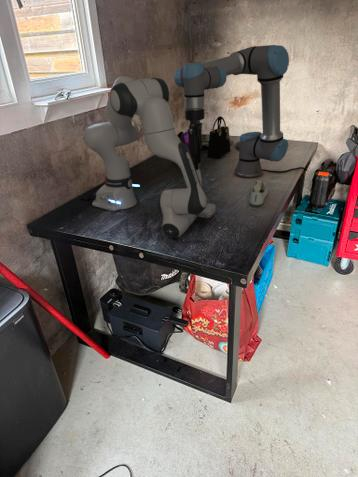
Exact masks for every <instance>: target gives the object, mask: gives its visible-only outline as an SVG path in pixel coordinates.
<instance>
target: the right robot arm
mask: <svg viewBox="0 0 358 477" xmlns="http://www.w3.org/2000/svg"><path fill="white" fill-rule="evenodd" d="M289 66H290V56H289V52H288V50H287V49H286V47H284V46H283V45H281V44H280V45H277V44H268V45H253V46H248V47H246V48H243V49H239V50H237V51H234V52H231V53H230V54H229V55H228V56H224V57H221V58H216V59H213V60H208V61H206V62H188V63H185V64H184V65H183V67H178V68H176V70H175V71H174V74H173V79H174V83H175V84H176V85H175V86H177V87H179V88H183V93H184V94H183V95H184V99H183V100H182V101H183V103H184V108H185V109H184V118H185V120H186V121H189V125H188V129H187V131H188V138H189V152H190V154H191V157H192V160H193V163H194V166H195V169H196V170H198V161H200V162H201V163H202V159H201V158H202V154H201V153H202V151H203V149H204V147H203V148H201V147H202V141H203V130H202V129H203V122H201V121H203V120H204V119H205V109H204V108H205V107H206V106H205V91H206V90H211V89H212V90H213V89H218V88H221V87H224V85H226V82H227V77H228V76H230V75H231V76H232V75H233V76H239V75H251V76H256V82H258V83H259V84H260V95H261V96H260V97H261V98H260V99H261V121H262V123H261V124H262V132H261V131H250V132H244V133H242V134H240V136H239V141H238V142H239V150H238V162H237V165H236V167H235V169H234V174H235V176H236V177H239V178H243V179H255V178H259V177H261V176H262V175H263V172H268V173H275V174H283V173H288V172H291V171H296V170H304V171H307V172H308V169H307V168H306V167H304V166H299V167H295V168H294V167H293V168H289V169H286V170H269V169H264V168H262V165H261V160H266V161H270V162H276V163H277V162H280V161H282V160H283V159H284V157H285V156H286V154H287V152H288V148H289V141H288V140H287V139H285V138H284V132H282V131H281V81H282V79H283V78H284V75H285V74H286V73H287V71H288V69H289V68H288V67H289Z"/></svg>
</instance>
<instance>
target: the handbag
mask: <svg viewBox="0 0 358 477" xmlns="http://www.w3.org/2000/svg"><path fill="white" fill-rule="evenodd" d="M222 122H223V126H221V125H222ZM216 123H217V124H216ZM216 125H217V126H216ZM215 126H216V127H217V128H215ZM208 135H209V144H208V147H207V154H206V155H207V156H206V157H207V158H212V159H220V158H222V157H224V156H225V155H227V154H228V153H230V152H231V145H230V140H231V139H230V136H231V134H230V128H229V126H227V124H226V120H225V118H224V117H223V116H221V115H219V116H218V117H217V118H216V119H215V121H214V123H213V125H212V128H211V129H210V131H209V134H208Z"/></svg>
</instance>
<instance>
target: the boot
mask: <svg viewBox="0 0 358 477" xmlns="http://www.w3.org/2000/svg"><path fill="white" fill-rule="evenodd" d="M184 133H185V132H184V131H179V132H178V133H176V134H177V136H178V138H179V140H180V141H181V142H182V143H184V144H186V142H185V138H184ZM178 168H179V169H181V168H180V167H179V166H178Z"/></svg>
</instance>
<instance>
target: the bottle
mask: <svg viewBox="0 0 358 477" xmlns="http://www.w3.org/2000/svg"><path fill="white" fill-rule="evenodd" d="M196 171H197V174H198V177H199V180H200V183H201V186H202V187H203V177H202V172H201V168H200V169H198V170H196Z"/></svg>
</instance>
